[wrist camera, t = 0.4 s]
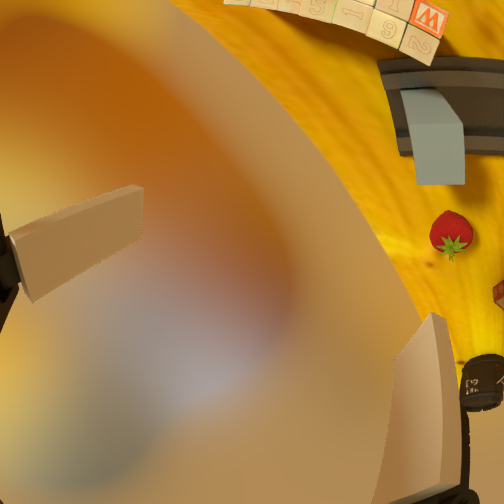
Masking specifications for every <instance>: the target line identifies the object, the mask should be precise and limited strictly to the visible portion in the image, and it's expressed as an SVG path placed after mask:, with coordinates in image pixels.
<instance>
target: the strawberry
mask: <svg viewBox="0 0 504 504" xmlns="http://www.w3.org/2000/svg"><path fill="white" fill-rule="evenodd" d="M472 239H473V229H472V227H471V225H470V224H469V222H468V221H467V220H466V219H465V218H464V217H463V216H461V215H459V214H457V213H455V212H452V211H449V210H447V211H445V212H444V213H443V214H441V215H440V216H439V217H438V218H437V219H436V221H435V222H434V223H433V225H432V228H431V231H430V240H431V243H432V245H433V247H434V248H435V249H437V250H439V251H441V252H443V253H442V254H441V255H445V254H449V261H450V260H451V258H452V257H453V256H454V253H458V252H466V251H465V250H464V249H466V248H467V247H468V246H469V245H470V243H471V242H472ZM452 262H453V259H452Z"/></svg>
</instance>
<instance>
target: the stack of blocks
mask: <svg viewBox="0 0 504 504" xmlns="http://www.w3.org/2000/svg"><path fill="white" fill-rule="evenodd" d="M224 4H228V5H241V6H250V7H257V8H265V9H271V10H277V11H283V12H288V13H293V14H298V15H299V16H302V17H307V18H311V19H315V20H319V21H323V22H327V23H330V24H336V25H340V26H343V27H346V28H349V29H352V30H355V31H358V32H360V33H363V34H365V35H366V36H367V37H370V38H372V39H375V40H377V41H380V42H382V43H384V44H387V45H389V46H391V47H393V48H395V49H398V50H399V51H401V52H403V53H405V54H407V55H409V56H411V57H413V58H415V59H417V60H418V61H420V62H422V63H424V64H426V65H427V66H430V65H431V62H432V60H433V57H434V55H435V52H436V50H437V48H438V45H439V43H440V41H439V39H440V38H441V36H442V34H443V31H444V28H445V25H446V22H447V19H448V16H449V13H448V12H446V11H444V10H442V9H441V8H439V7H437V6H435V5H433V4H431V3H429V2H427V1H425V0H224Z"/></svg>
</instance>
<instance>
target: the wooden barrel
mask: <svg viewBox="0 0 504 504" xmlns="http://www.w3.org/2000/svg"><path fill="white" fill-rule="evenodd" d="M462 373H463V374H462V378H461V384H460V393H459V394H460V395H459V401H460V404H461V405H464V407H465V409H466V412H480V411H481V410H482V409H483V411H486V410H491V409H492V408H496V407H498V406H499V405H500V404H501V401H503V391H504V360H503V356H500V355H497V354H486V355H480V356H477V357H475V358H472V359H470V360H469V361H468V362H467V363H466V364H465V366H464V368H463V369H462Z"/></svg>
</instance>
